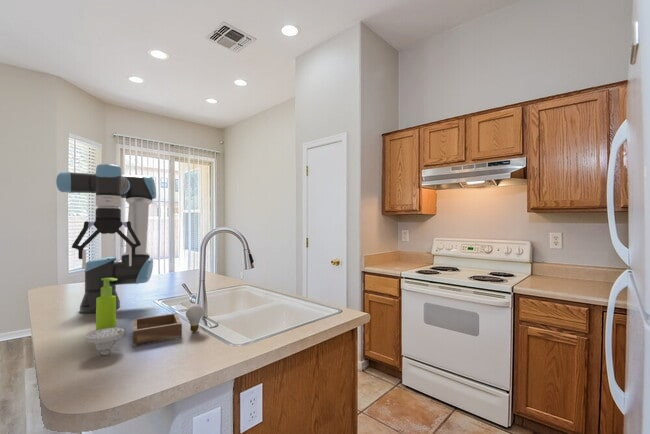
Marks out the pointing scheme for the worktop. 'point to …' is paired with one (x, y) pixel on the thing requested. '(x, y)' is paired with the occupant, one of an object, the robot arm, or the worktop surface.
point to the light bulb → (194, 316)
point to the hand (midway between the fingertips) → (107, 267)
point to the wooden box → (156, 329)
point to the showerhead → (105, 338)
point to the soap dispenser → (106, 307)
